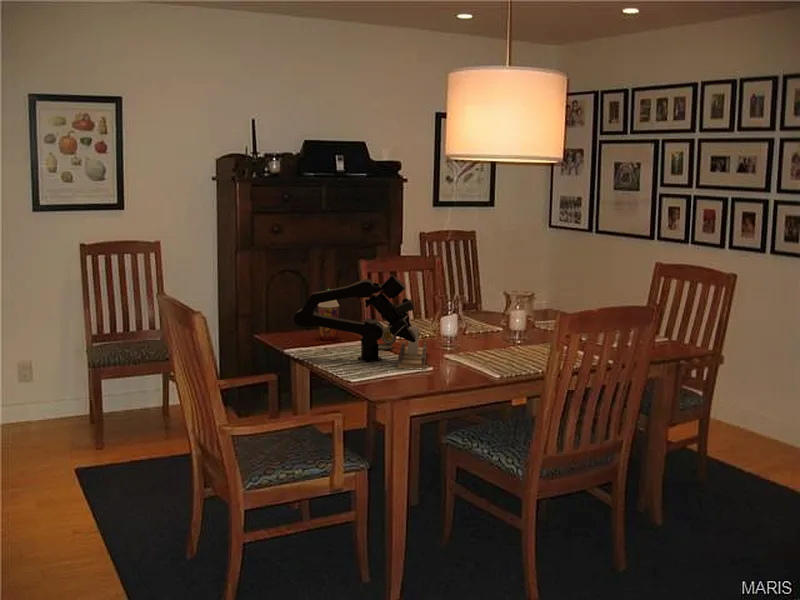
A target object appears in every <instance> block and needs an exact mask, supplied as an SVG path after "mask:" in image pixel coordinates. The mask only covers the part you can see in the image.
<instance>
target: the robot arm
mask: <svg viewBox="0 0 800 600" xmlns="http://www.w3.org/2000/svg"><path fill="white" fill-rule="evenodd" d="M404 290H406V286H405V284H404V283H403V282H402V281H401V280H400V279H398V278H397V277H396V276H395V275H393V274H391V275H390V276H389V277H388V278H387V280H385V281H384V282H383V283H380V282H379V283H377V282H373V280H371V279H369V278H366V279H365V278H364V279H362V280H360V281H357V282H355V283H352V284H350V285H347V286H342V287H337V288H331V289H329V290H328V289H325V290H321V291H314V292H312V293H311V295H310V296H309V298H308V300H307V302H306V303H305V304H304V306H303V307H302V308H300V309H299V310H298V311H296V313H295V314H294V316H293V322H294V324H295V325H296V326H297V327H300V328H315V327H316V328H317V327H319V328H320V327H325V328H330V329H336V330H338V331H342V332H347V333H353V334H358V336H360V337H361V338H360V342H361V343H360V345H361V346H360V348H361V349H360V351H361V352H360V356H357V359H358V360H361V361H363V360H364V361H363V362H366V363H370V362H375V360H376V361H381V359H383V358H382V357H379V351H380V349H378V344H379V343H378V341H379V340H380V339H382V338H381V337H382V335H383V332H384V328H385V327H384V325H383V323H381V321H378V319H377V318H376V319H371V318H369V317H365V319H364V321H356V320H349V319H346V318H339V317H338V318H335V317H330V316H324V315H321V314H319V312H317V311H315V309H316V308H317V306H318V304H319V303H322V302H328V301H333V300H337V301H338V300H341V299H342V300H343V299H348V298H357V299H363V298H365V300H364V301H365V306H364V307H365V308H368V307H369V306H372V308H373V309H375V311H377V312H378V313H379V315H380V317H381V319H384V320H385V321H386V322H387V321H388V322H387V323H388V324H389V325H390V327H389V328H390V332H391V333H392V334H393V335H394V334H395V336H397V337H399V338H401V339H404V340H406V341H407V342H408V341H411V342H413V343H414V342H415V341H416V340H415V338H414V337H413V335H412V334H411V333H410V331H409V330H408V328H409V326H411V327H413V326H412V324H411V321H410V314H409V312H412V311H413V310H415V309H416V308H415V305H414V303H413V301H412V299H409V298H407V297H404V298H403V299H402V302H400V303H399V304H396V303H395V302H391V299H393V300H395V299H396V298H397V297H398V296H399V295H400V294H401V293H403V291H404ZM392 334H391V335H392ZM369 361H370V362H369Z"/></svg>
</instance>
